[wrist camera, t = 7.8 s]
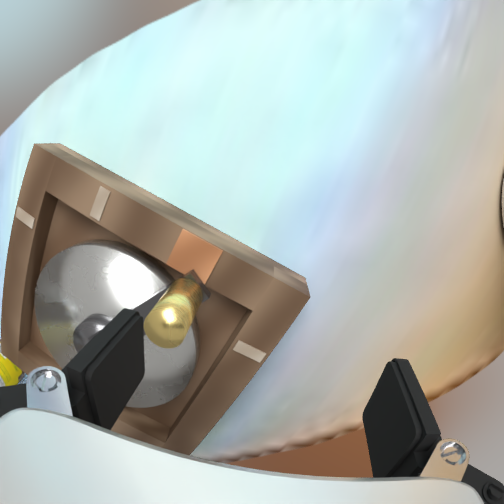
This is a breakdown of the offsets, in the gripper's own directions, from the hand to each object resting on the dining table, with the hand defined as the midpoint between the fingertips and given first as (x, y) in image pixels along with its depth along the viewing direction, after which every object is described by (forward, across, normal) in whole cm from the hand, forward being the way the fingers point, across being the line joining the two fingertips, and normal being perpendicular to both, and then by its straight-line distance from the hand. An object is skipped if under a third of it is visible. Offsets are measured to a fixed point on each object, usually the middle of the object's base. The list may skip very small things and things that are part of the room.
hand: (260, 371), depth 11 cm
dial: (+9, +10, +6) cm, 15 cm away
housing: (+10, +11, +7) cm, 17 cm away
